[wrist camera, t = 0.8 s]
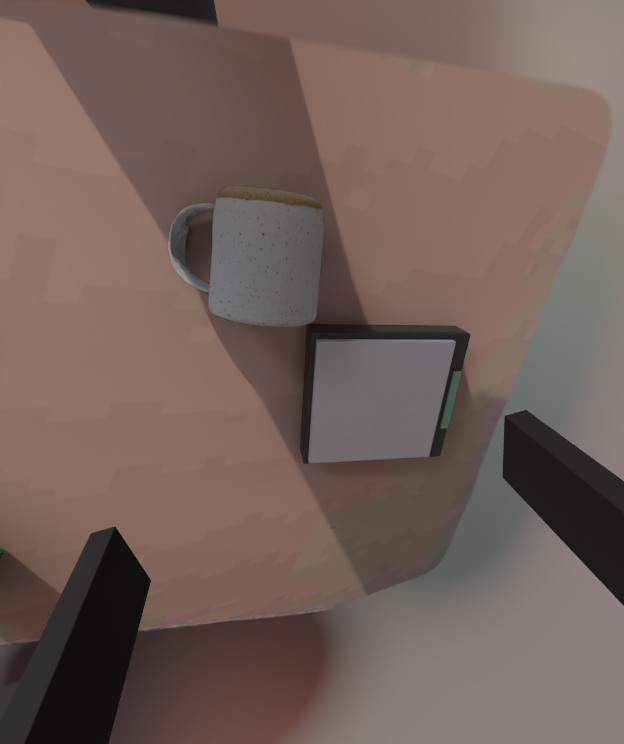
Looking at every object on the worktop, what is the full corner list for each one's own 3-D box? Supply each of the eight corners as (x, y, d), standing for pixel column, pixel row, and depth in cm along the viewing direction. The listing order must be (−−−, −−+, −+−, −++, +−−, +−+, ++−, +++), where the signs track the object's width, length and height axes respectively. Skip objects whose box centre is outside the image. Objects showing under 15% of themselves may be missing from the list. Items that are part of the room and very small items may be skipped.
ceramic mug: (317, 199, 27) (339, 195, 20) (307, 306, 30) (323, 335, 23) (169, 182, 25) (136, 171, 18) (175, 298, 28) (149, 327, 21)
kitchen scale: (307, 323, 31) (312, 335, 28) (455, 325, 33) (475, 336, 30) (300, 448, 36) (304, 468, 33) (428, 442, 38) (443, 460, 36)
